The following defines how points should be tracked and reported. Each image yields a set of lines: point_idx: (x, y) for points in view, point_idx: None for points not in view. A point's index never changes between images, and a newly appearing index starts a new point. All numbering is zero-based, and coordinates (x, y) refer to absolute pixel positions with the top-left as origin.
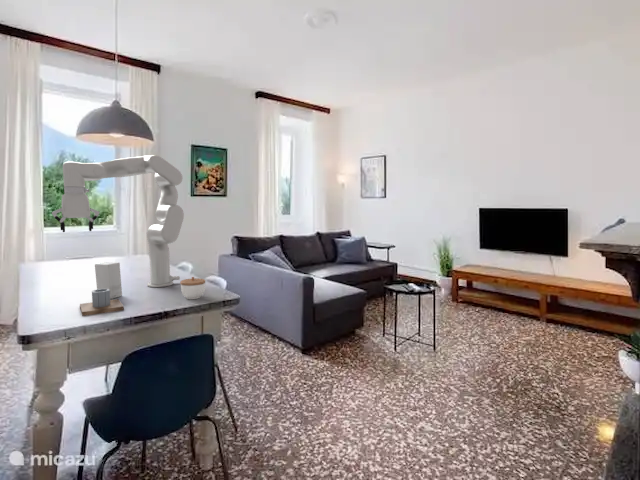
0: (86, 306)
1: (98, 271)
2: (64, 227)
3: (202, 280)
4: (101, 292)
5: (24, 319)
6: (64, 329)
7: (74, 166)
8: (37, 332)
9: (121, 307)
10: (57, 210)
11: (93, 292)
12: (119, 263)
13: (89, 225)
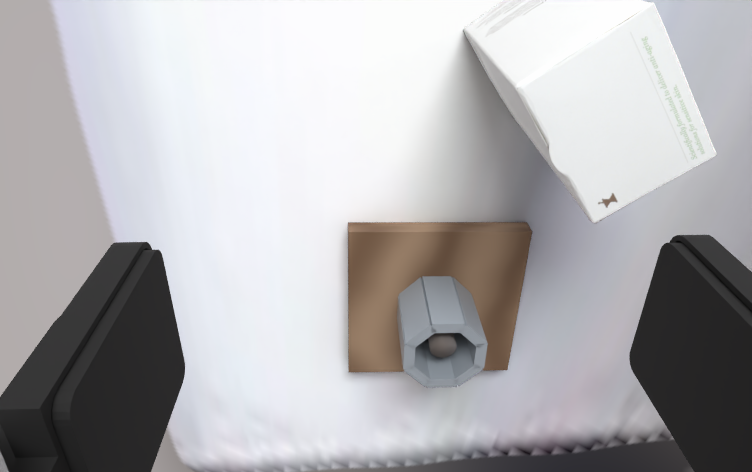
0: (372, 296)
1: (517, 110)
2: (152, 445)
3: None
4: (441, 384)
5: None
6: (290, 468)
7: None
8: (215, 460)
9: (497, 368)
10: None
11: (407, 372)
12: (710, 153)
13: (689, 457)
